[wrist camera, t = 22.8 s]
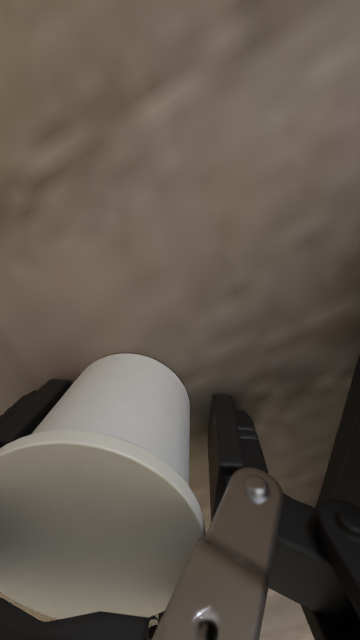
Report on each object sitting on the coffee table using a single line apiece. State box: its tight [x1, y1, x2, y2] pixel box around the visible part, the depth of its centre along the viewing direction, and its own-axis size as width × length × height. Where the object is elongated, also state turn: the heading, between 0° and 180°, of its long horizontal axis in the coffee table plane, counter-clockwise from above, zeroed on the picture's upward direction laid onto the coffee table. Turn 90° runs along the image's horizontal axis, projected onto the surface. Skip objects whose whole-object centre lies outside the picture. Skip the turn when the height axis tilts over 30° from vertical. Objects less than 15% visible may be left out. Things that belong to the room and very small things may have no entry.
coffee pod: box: [0, 353, 206, 619], centre depth 9 cm, size 6×6×5 cm
